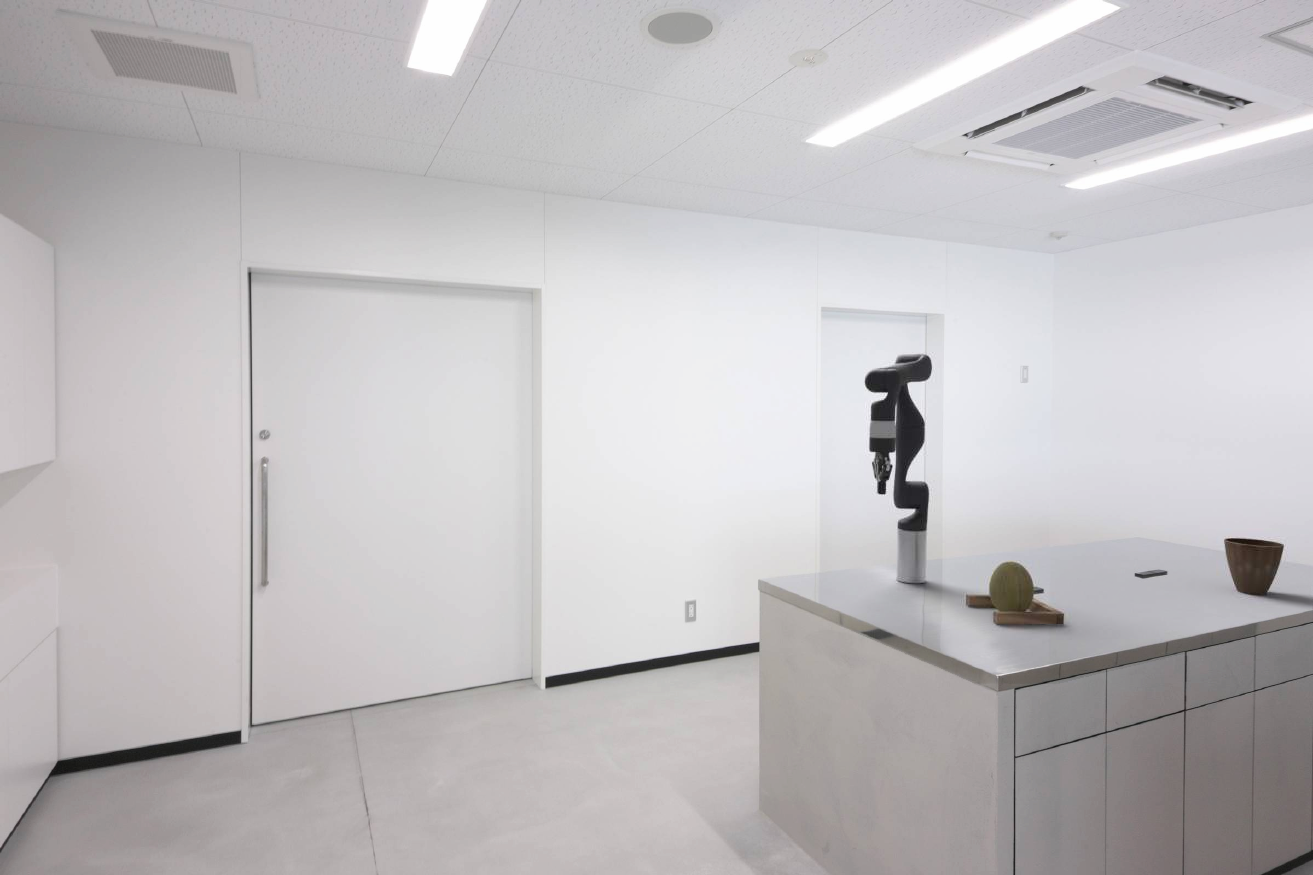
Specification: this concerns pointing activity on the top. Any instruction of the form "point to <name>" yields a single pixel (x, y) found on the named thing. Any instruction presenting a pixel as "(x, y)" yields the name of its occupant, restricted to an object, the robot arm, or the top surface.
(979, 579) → the top surface
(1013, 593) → the fruit
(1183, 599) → the top surface
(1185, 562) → the top surface
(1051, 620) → the walnut bay
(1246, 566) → the plant pot
